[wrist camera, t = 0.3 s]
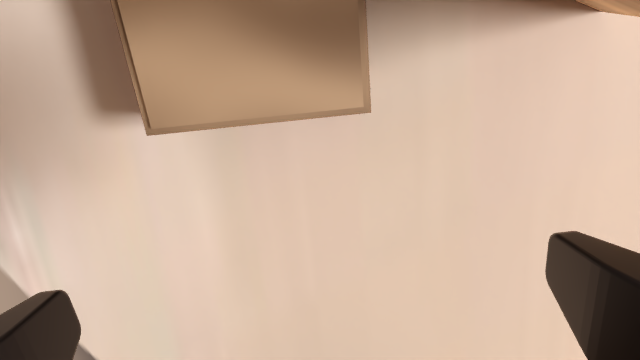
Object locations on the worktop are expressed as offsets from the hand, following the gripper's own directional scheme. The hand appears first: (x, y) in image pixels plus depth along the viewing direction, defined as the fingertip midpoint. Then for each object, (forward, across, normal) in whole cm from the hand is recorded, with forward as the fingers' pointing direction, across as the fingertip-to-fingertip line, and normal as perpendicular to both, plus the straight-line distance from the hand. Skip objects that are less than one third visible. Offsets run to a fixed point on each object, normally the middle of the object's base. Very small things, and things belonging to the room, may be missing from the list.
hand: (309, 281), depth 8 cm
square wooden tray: (+13, +2, -5) cm, 14 cm away
